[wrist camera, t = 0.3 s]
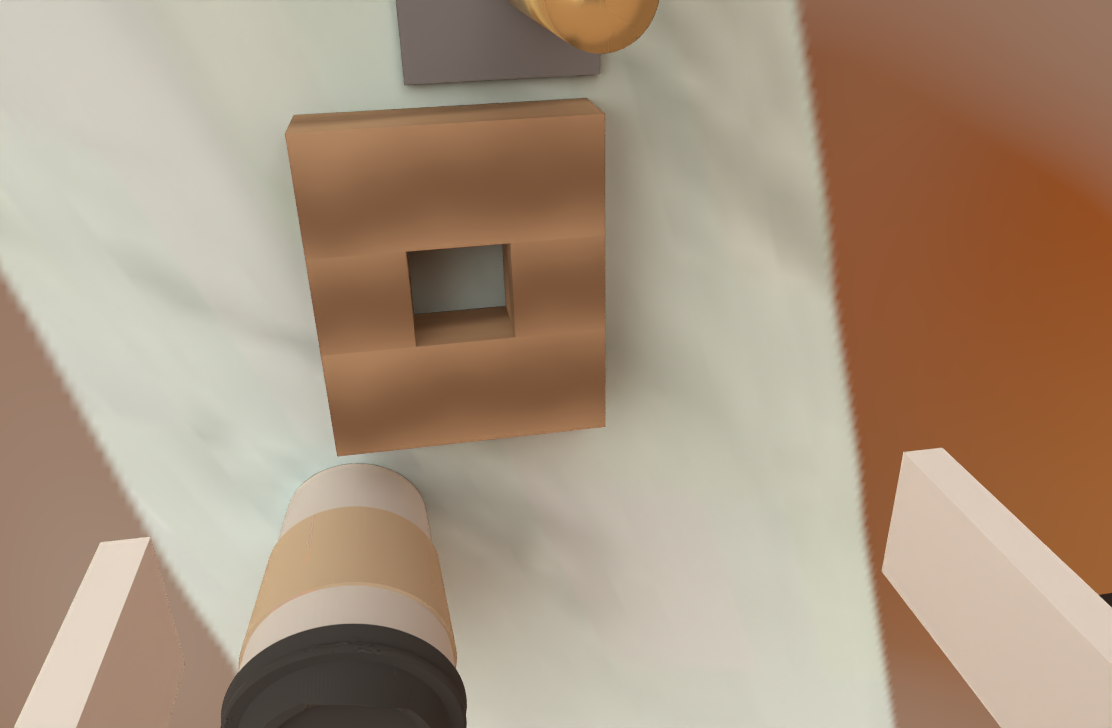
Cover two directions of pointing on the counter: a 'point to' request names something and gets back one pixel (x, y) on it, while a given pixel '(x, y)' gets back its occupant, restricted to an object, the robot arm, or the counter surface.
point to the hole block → (449, 222)
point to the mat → (481, 43)
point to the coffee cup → (350, 615)
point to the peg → (592, 21)
